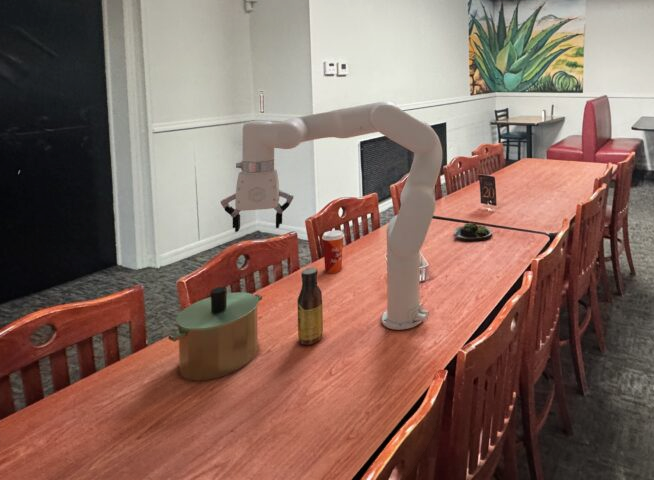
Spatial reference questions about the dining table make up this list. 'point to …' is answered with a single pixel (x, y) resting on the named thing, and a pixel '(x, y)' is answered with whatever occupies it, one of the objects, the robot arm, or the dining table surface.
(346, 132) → the robot arm
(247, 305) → the tin lid
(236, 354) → the cooking pot
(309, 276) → the sauce bottle
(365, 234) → the dining table surface
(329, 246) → the paper cup
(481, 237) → the salad plate
